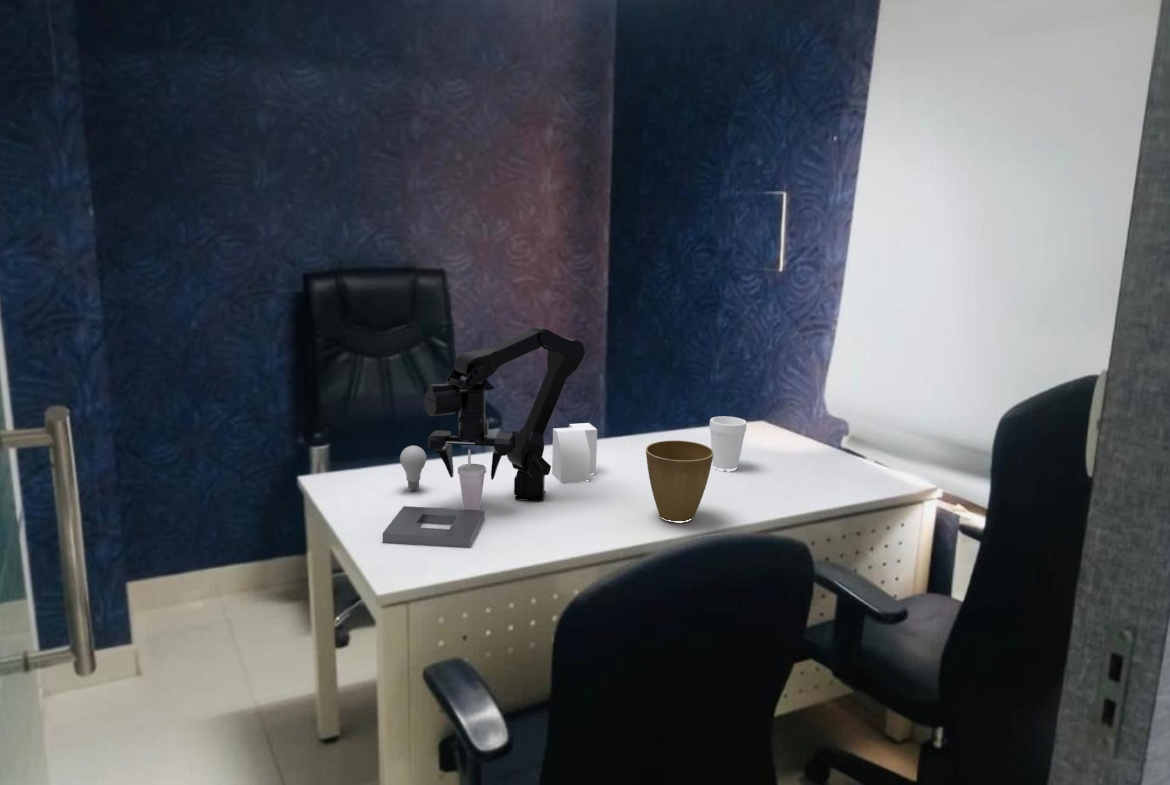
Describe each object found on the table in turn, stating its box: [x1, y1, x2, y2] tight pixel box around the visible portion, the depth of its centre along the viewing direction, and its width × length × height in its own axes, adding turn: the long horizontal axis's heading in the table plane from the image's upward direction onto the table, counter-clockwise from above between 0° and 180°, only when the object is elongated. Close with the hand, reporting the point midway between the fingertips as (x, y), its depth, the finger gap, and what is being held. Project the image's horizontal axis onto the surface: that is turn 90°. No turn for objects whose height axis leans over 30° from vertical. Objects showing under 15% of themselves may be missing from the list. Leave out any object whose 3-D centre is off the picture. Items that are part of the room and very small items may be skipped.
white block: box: [551, 422, 598, 484], centre depth 228 cm, size 11×11×12 cm
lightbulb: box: [399, 445, 427, 491], centre depth 212 cm, size 6×6×11 cm
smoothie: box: [457, 448, 487, 510], centre depth 201 cm, size 6×6×14 cm
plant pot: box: [645, 439, 714, 521], centre depth 199 cm, size 15×15×16 cm
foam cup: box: [709, 415, 747, 469], centre depth 237 cm, size 10×9×13 cm
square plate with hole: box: [382, 505, 486, 548], centre depth 189 cm, size 18×16×2 cm
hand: (472, 478), depth 201 cm, fingers open, 9 cm apart
